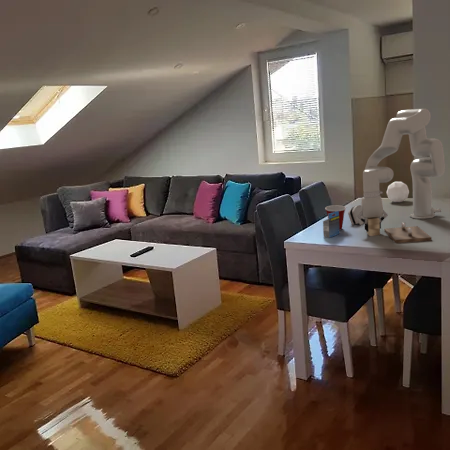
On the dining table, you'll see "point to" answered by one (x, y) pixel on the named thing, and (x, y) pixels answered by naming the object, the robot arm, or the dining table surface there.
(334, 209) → the plastic cup
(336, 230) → the label tape box
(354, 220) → the white rounded slab
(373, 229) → the maple block
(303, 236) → the dining table surface
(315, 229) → the dining table surface
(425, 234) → the stub plate
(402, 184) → the geodesic sphere
